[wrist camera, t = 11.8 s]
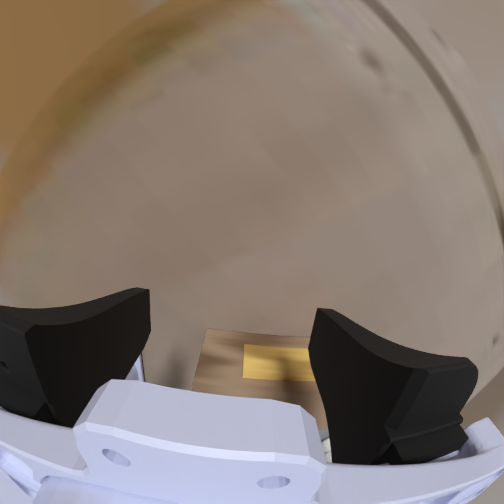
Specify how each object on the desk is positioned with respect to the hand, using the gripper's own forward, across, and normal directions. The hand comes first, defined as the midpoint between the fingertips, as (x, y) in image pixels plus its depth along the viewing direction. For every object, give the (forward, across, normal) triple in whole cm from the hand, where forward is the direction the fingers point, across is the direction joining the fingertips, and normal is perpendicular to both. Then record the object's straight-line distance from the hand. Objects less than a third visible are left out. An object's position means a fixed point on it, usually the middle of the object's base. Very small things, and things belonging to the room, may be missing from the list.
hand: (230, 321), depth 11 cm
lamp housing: (+9, -4, +8) cm, 13 cm away
